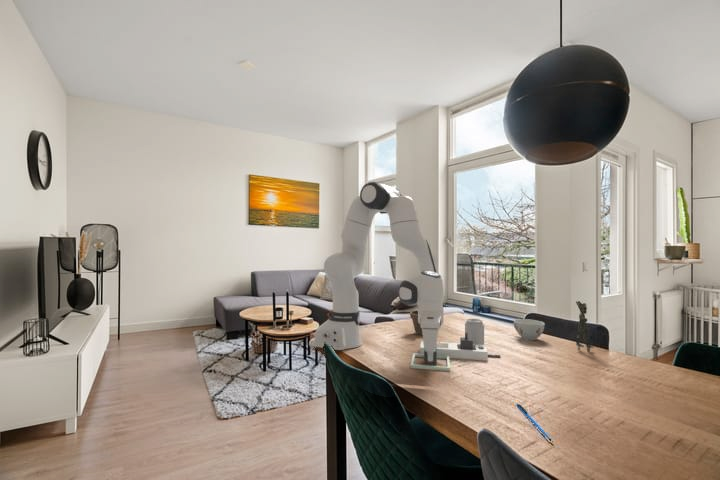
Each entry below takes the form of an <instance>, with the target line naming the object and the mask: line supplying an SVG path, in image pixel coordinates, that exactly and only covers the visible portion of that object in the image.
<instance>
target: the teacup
mask: <svg viewBox="0 0 720 480" xmlns="http://www.w3.org/2000/svg"><path fill="white" fill-rule="evenodd" d="M512 324H513V328H514V329H515V331H516V333H517V334H518V336H520V337H521V338H522V339H523V340H525V341H537V339H538V338H540V337H541V335H542V334H543V333H544V330H545V325H546V324H545V322H544V321H541V320H536V319H528V318H524V319H522V318H517V319H515V320H513V323H512Z"/></svg>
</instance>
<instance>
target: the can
mask: <svg viewBox="0 0 720 480" xmlns="http://www.w3.org/2000/svg"><path fill="white" fill-rule="evenodd" d="M465 332H467V333H468V338H472V340H473V344H476V345H485V323H483V320H482V319H479V318H467V319H466V321H465V322H464V333H465Z"/></svg>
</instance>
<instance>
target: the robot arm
mask: <svg viewBox="0 0 720 480" xmlns="http://www.w3.org/2000/svg"><path fill="white" fill-rule="evenodd" d="M350 204H351V205H350V206H349V208H348V210H347V214H346V217H345V220H344V224H343V227H342V230H341V233H340V237H341V240H342V241H341V242H342V245H341V246H342V248H341V252H335V253H333V254H332V255H329V256H328V257H326V259H325V261H324V262H323V271H324V273H325V274H326V276H327V277H328V279H329V283H330V287H331V291H332V292H331V293H332V308H331V310H330V311H329V312H328V313H327V317H328V319H327V320H326V321H324V322H323V323H322V324H321V325H320V326H318V327H317V328H316V331H315V333H314V337H312V338H311V339H310V340H309V343H308V345H309V347H314V348H321V349H324V348H323V346H324V342H327V343H329V344H331V345H332V346H333V348H334V349H333V350H335V351H343V350H348V349H353V348H354V349H355V348H359V347H361V346H362V345H363V342H362V338H361V333H360V332H361V330H360V321H361V313H360V310H359V303H360V302H359V296H360V295H359V291H358V289H357V286H356V284H355V277H358V276H359V275H361V274H362V273H363V272H364V271H365V269H366V265H367V263H366V259H365V257H366V246H367V241H368V237H369V234H370V230H371V226H372V223H373V220H374V217H375V215H376V214H378V213H380V214H381V215H382V214H387V216H388V219H389V226H390V234H391V237H392V238H391V239H392V240H393V241H394V242H395V244H396V245H398V246H399V248H402V249H405V250H407V251H409V252H410V253H412V254H413V255H414V256H415V257H416V259H417V263H418V266H419V267H418V268H419V271H420V272H419V274H417V275H416V276H414V277H411V278H409V279H405V280H403V281H401V282H400V283H399V286H398V288H397V289H398V290H397V293H398V297H399V301H400V302H401V303H402V304H403V305H405V306H417V307H418V308H417V310H418V323H419V324H420V327H421V328H422V333H423V335H422V341H423V343H424V350H425V351H426V352H427V355H428V361H430V362H432V361H433V352H435V351H436V346H437V342H438V336H439V330H440V329H441V326H442V325H443V324H444V322H445V321H444V319H445V318H444V315H445V313H444V306H443V301H444V293H445V291H444V281H443V277H442V276H441V274H440V273H439V272H438V273H437V269H436V266H435V261H434V258H433V255H432V250H431V247H430V244H429V242H428V240H427V239H426V237H425V236H424V234H423V232H422V229H421V226H420V220H419V216H418V210H417V208H416V204H415V201H414V200H413V198H411V197H410V196H408V195H403V193H402V191H400V190H399V189H398V188H395V187H393V186H391V185H388V184H384V183H380V182H376V181H370V182H367V183H365V184H364V185H363V186H362V187H361V189H360V193H359V195H358V196H356V197H354V199H353V201H352V202H351V203H350Z"/></svg>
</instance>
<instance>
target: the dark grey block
mask: <svg viewBox="0 0 720 480" xmlns="http://www.w3.org/2000/svg"><path fill="white" fill-rule="evenodd" d="M423 359H424V360H423V361H424V362H423V365H430V366H438V365H437V364H438V362H437V361H438V358H437V346H436V351H435V352H433V361H432V362H430V361H428V355H427V352H426V351H425V350H424V357H423Z"/></svg>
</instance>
